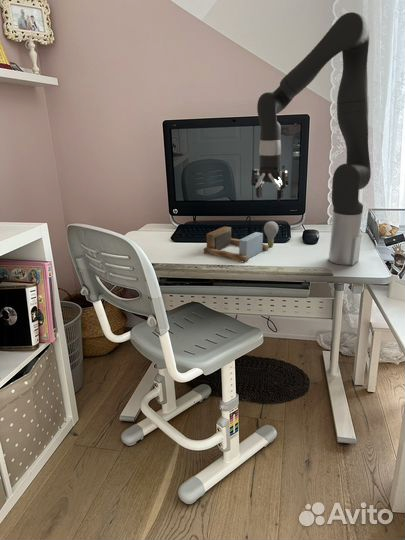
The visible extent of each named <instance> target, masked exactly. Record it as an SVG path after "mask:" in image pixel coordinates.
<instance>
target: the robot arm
mask: <svg viewBox="0 0 405 540" xmlns="http://www.w3.org/2000/svg"><path fill="white" fill-rule="evenodd" d="M370 39H371V27H370V23H369V21H368V20H367V19H366V18H365V17H364V16H362V15H361V14H360V13H356V12H354V11H353V12H351V11H350V12H346V13H344V14H342V15H341V16H339V18H338V19H336V21H335V22H334V24H333V25H332V26H331V27H330V28H329V30H328V31H327V32H326V34H325V35H324V36H323V37H322V38H321V40H320V41H319V42H318V43H317V44H316V45H315V46H314V47H313V49H311V50H310V52H309V53H308V54H307V55H306V56H305V57H304V58H303V59H302V60H301V61H300V62H299V63H298V64H297V65H296V66H294V68H292V70H290V71H289V72H288V73H287V74H285V76H284V77H282V79H281V81H280V82H279V85H278V87H277V88H276V89H275V90H273V92H264V93H262V94H261V95H260V96H259V97H258V100H257V104H256V105H257V107H256V109H257V117H258V121H259V127H260V131H259V132H260V135H259V136H260V140H259V149H258V150H259V154H258V156H259V159H258V162H259V163H258V165H259V168H253V169H252V170H251V180H250V181H251V186H253V187H255V196H256V198H258V199H260V198H262V196H263V187H262V186H263V184H264V183H270V184H272V183H273V185H274V186H275V187H276V189H277V190H276V200H277V201H281V200H282V199H283V198H284V190H285V189H286V188H289V171H288V170H284V171H282V170H281V165H282V164H281V163H282V162H281V161H282V160H281V159H282V158H281V157H282V142H281V140H282V139H281V138H282V137H281V136H282V131H281V129H282V128H281V124H280V123H279V122H278V120H277V119H278V117H277V114H279V113H280V112H281V113H282V111H283V110H285V108H287V106H289V104H290V103H291V102H292V101H293V99H294V98H295V97H296V96H298V95H299V93H301V92H302V91H303V90H305V89H306V88H307V86H309V85H310V84H311V83H312V82H313V81H314V80H315V78H316V77H317V76H318V75H319V73H320V72H321V70H323V68H324V66H326V65H327V64H328V63H329V61H331V60H332V59H333V58H334V57H335V56H337V55H338V54H340V53H341V52H342V73H341V74H342V75H341V79H340V84H339V86H338V92H337V98H336V99H337V100H336V111H337V112H336V115H337V117H336V119H337V124H338V128H339V129H340V133H341V135H342V138H343V140H344V142H345V148H346V149H345V150H346V162H344V163H343V164H341V165H339V166H337V168H336V169H334V170H335V171H334V173H333V176H332V183H331V204H332V207H333V210H332V218H331V219H332V220H331V229H330V230H331V231H330V241H329V243H330V244H329V253H328V261H330V263H333V264H336V265H341V266H354V265H355V264H356V263H357V262H358V261H359V259H360V252H361V251H360V250H361V244H362V235H363V234H362V233H361V227H362V221H363V220H362V218H363V212H364V211H363V209H364V205H363V203H362V202H360V200H359V192H360V190H362V189H364V188H366V186H368V184H369V182H370V180H371V175H372V173H371V171H372V169H371V162H370V161H371V159H370V152H369V151H370V150H369V109H370V108H369V103H370V102H369V75H368V74H369V73H368V72H369V71H368V60H369V59H368V57H369V49H370ZM259 175H260V177H259Z"/></svg>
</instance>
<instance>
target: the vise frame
mask: <svg viewBox="0 0 405 540" xmlns="http://www.w3.org/2000/svg"><path fill="white" fill-rule="evenodd" d="M239 240H240V239H238V238H232V227H231V226H222V227H219V228H217V229H216V230H213V231H210V232H208V233H206V247H203V254H204V255H205V254H206V255H209V256H214V257H217V258H223V259H227V260H232V261H236V260H237V262H240V261H243V262H242V263H245V262H246V263H248V262H249V259H248V256H245V255H240V254H239V253H236V252H230V251H226V250H223V249H225V248H228V247H230V246H237V247H239ZM268 248H269V246H268V244H265V243H263V249H262V251H261V252H267V251H268V250H269V249H268ZM247 261H248V262H247Z"/></svg>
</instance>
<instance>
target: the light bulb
mask: <svg viewBox="0 0 405 540" xmlns="http://www.w3.org/2000/svg"><path fill="white" fill-rule="evenodd" d="M278 232H279V224H277V223H276V222H275V221H273V220H272V221H271V220H270V221H267V222H265V224H264V226H263V233H264V234H265V236H266V237H267V245H268V247H270V248H271V247H274V242H275V240H274V239H275V237H276V235H277V234H278Z"/></svg>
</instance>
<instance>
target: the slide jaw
mask: <svg viewBox="0 0 405 540" xmlns="http://www.w3.org/2000/svg"><path fill="white" fill-rule="evenodd" d="M263 241H264V232H257V231H254V232H253V233H251V234H249V235H246V236H245V237H242V238H240V239H239V246H238V249H239V250H238V252H239V253H238V254H240V255H245V256H248V260H249V259H250V258H253V257H254V256H256V255H257V254H259V253H261V252H263V251H262V249H263V244H264V242H263Z"/></svg>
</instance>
